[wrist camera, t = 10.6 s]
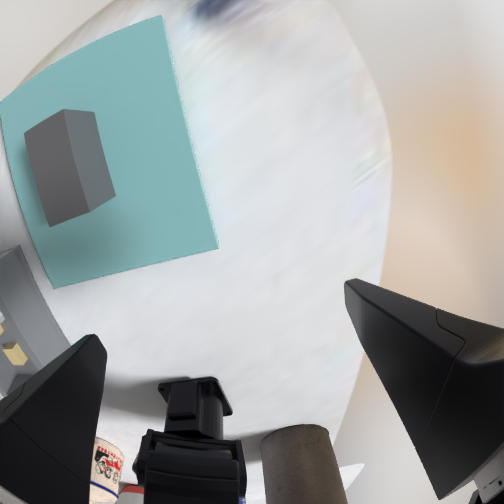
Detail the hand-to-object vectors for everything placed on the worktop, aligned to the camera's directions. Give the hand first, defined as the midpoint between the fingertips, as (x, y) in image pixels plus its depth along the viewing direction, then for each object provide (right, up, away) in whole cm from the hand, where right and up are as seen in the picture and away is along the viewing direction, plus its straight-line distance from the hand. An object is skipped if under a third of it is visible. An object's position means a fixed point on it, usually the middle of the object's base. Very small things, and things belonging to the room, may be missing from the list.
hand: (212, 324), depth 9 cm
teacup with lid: (-24, -28, +23) cm, 43 cm away
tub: (-25, -6, +13) cm, 29 cm away
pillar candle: (+7, -24, +24) cm, 34 cm away
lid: (-10, +9, +9) cm, 16 cm away
